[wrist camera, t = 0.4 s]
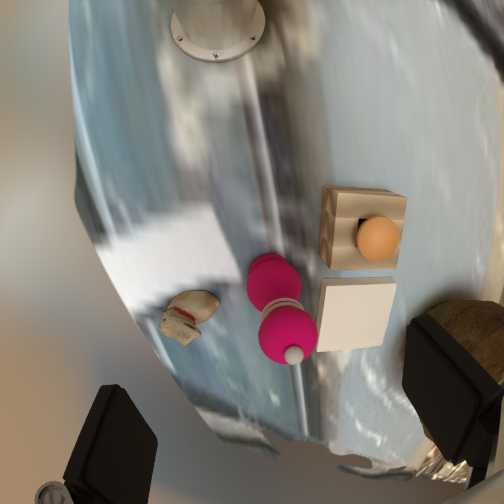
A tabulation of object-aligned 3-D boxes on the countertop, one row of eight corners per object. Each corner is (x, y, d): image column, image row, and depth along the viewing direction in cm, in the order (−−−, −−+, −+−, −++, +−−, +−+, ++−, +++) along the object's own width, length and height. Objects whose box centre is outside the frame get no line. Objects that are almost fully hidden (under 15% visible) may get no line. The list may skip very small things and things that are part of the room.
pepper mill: (300, 255, 45) (345, 333, 26) (286, 299, 47) (318, 391, 28) (251, 245, 44) (267, 323, 25) (240, 291, 46) (247, 385, 27)
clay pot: (456, 248, 46) (556, 313, 23) (492, 317, 53) (558, 378, 30) (359, 348, 51) (418, 455, 28) (415, 394, 58) (462, 473, 35)
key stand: (323, 185, 41) (337, 192, 36) (386, 190, 42) (406, 197, 36) (318, 254, 45) (330, 269, 39) (378, 253, 45) (396, 268, 40)
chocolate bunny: (171, 280, 45) (158, 315, 35) (222, 295, 46) (220, 333, 37) (164, 311, 46) (150, 349, 37) (212, 324, 48) (209, 365, 38)
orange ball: (342, 204, 40) (362, 216, 34) (378, 206, 41) (402, 218, 34) (338, 244, 42) (356, 262, 36) (373, 244, 43) (395, 261, 36)
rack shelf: (322, 278, 46) (326, 286, 44) (390, 276, 47) (397, 283, 45) (313, 343, 50) (316, 352, 48) (376, 337, 51) (381, 345, 49)
